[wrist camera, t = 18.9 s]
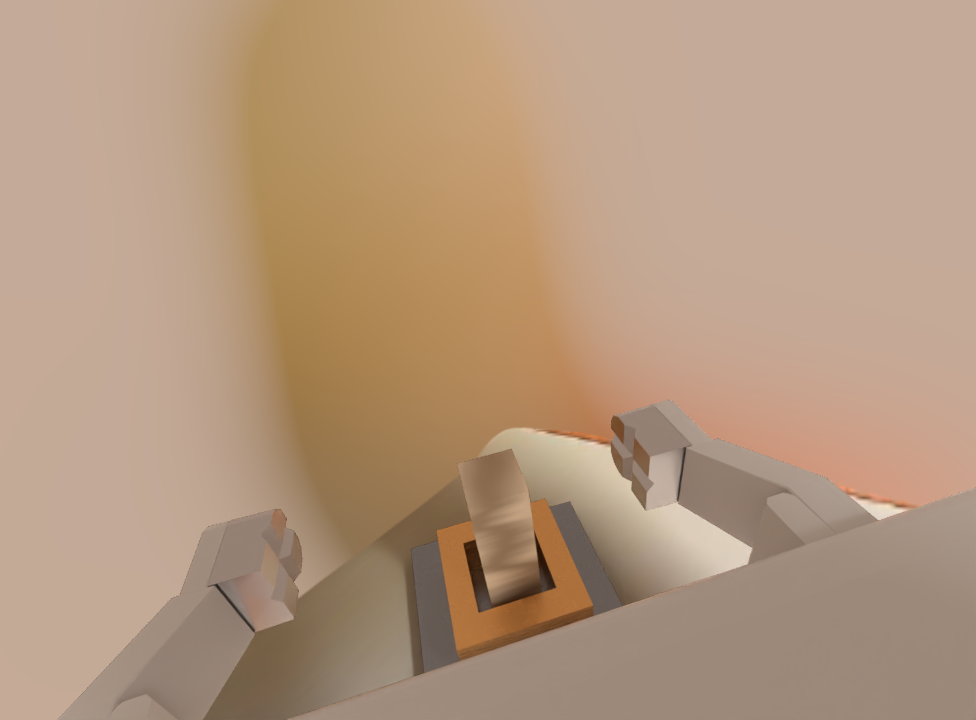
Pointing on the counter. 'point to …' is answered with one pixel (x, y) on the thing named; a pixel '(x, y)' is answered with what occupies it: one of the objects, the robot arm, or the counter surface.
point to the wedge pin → (502, 526)
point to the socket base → (480, 628)
